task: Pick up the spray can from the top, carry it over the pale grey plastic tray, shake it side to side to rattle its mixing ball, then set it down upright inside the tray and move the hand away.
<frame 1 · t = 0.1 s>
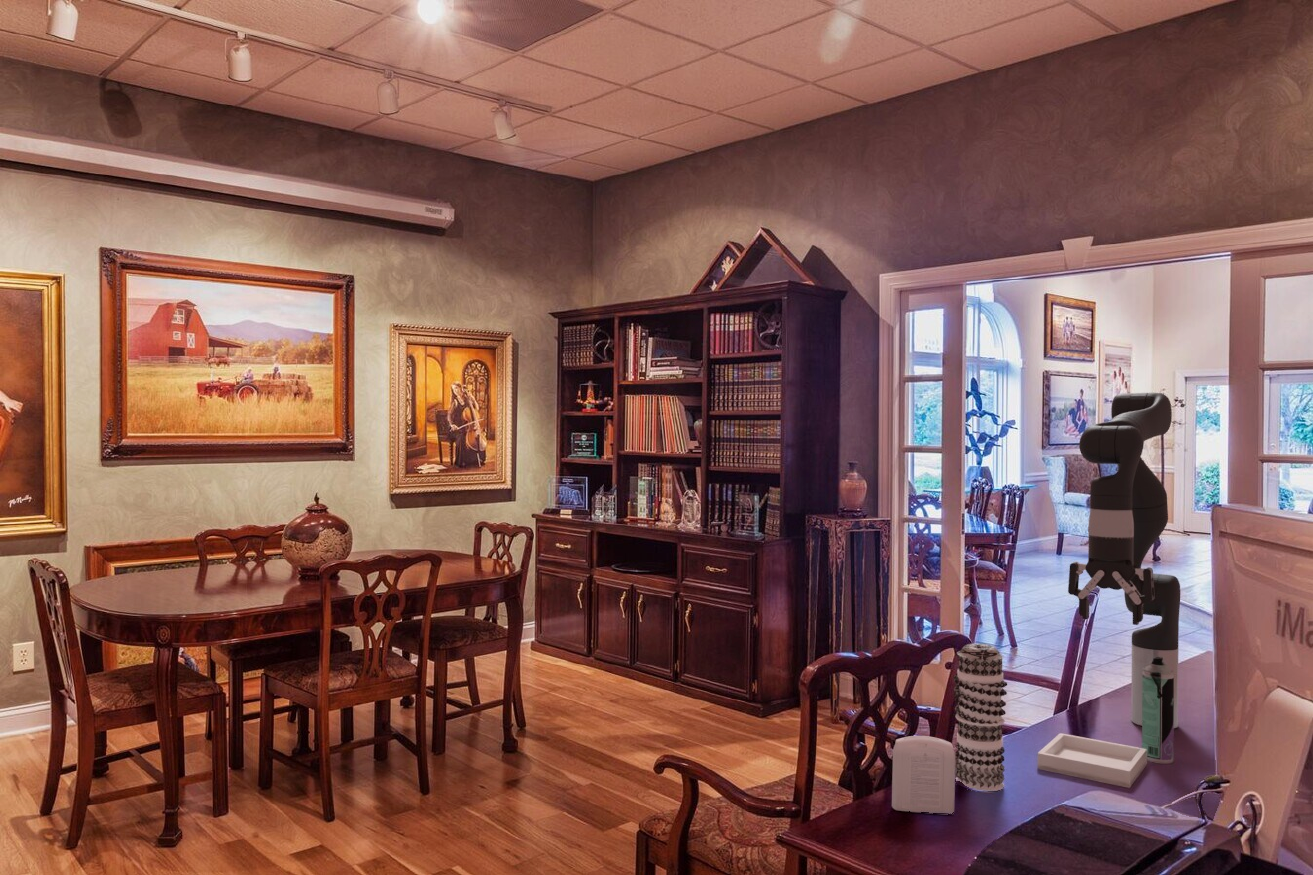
hand: (1110, 621, 175), 29 cm above the table, tool pointing down, fingers open, 8 cm apart
decorative candle: (979, 784, 172), on the table
spray can: (1157, 759, 187), on the table
tray: (1092, 766, 182), on the table
white rounded block: (923, 811, 160), on the table
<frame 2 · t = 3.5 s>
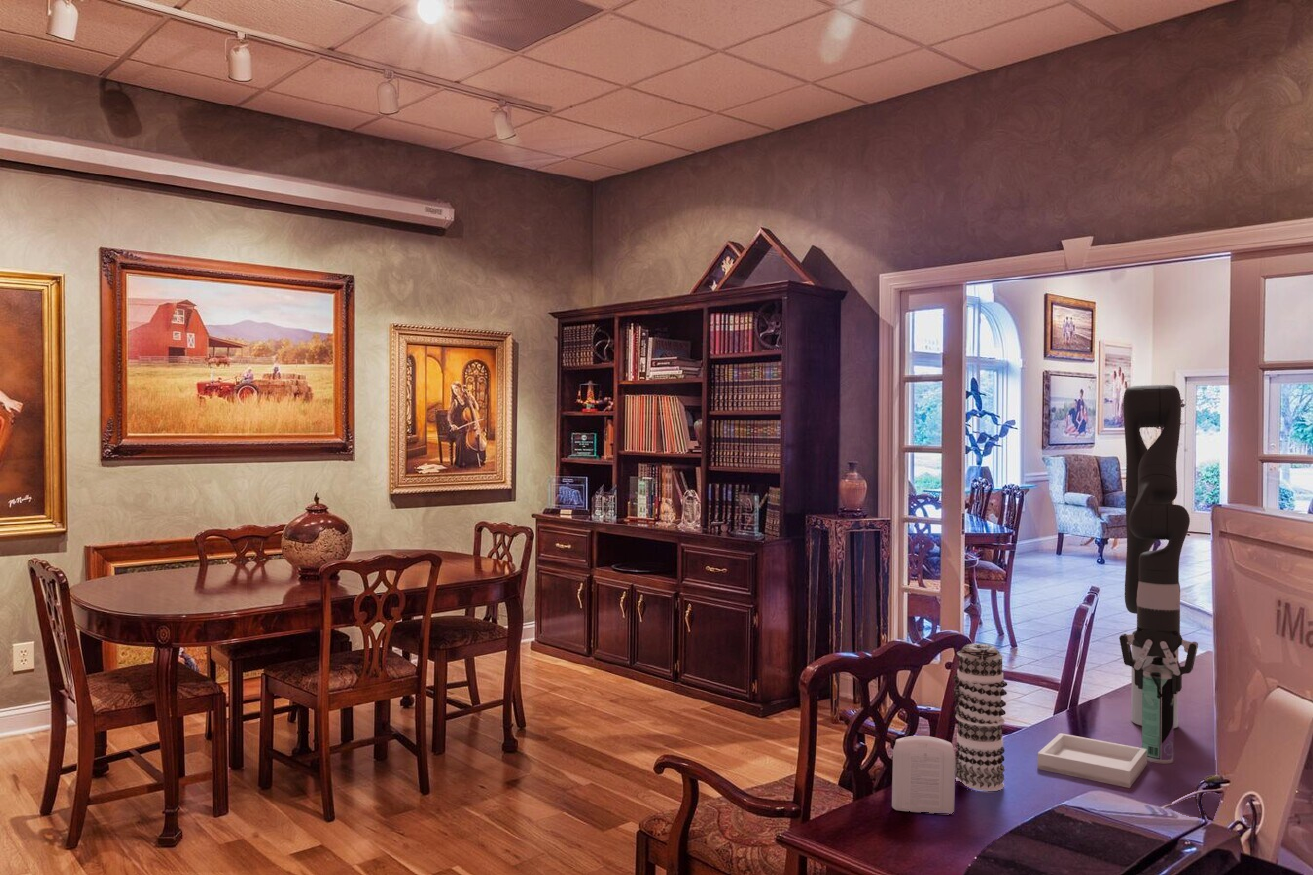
hand: (1157, 690, 187), 13 cm above the table, tool pointing down, fingers closed on spray can, 5 cm apart
spray can: (1157, 759, 187), on the table, touching gripper
everything else where it was.
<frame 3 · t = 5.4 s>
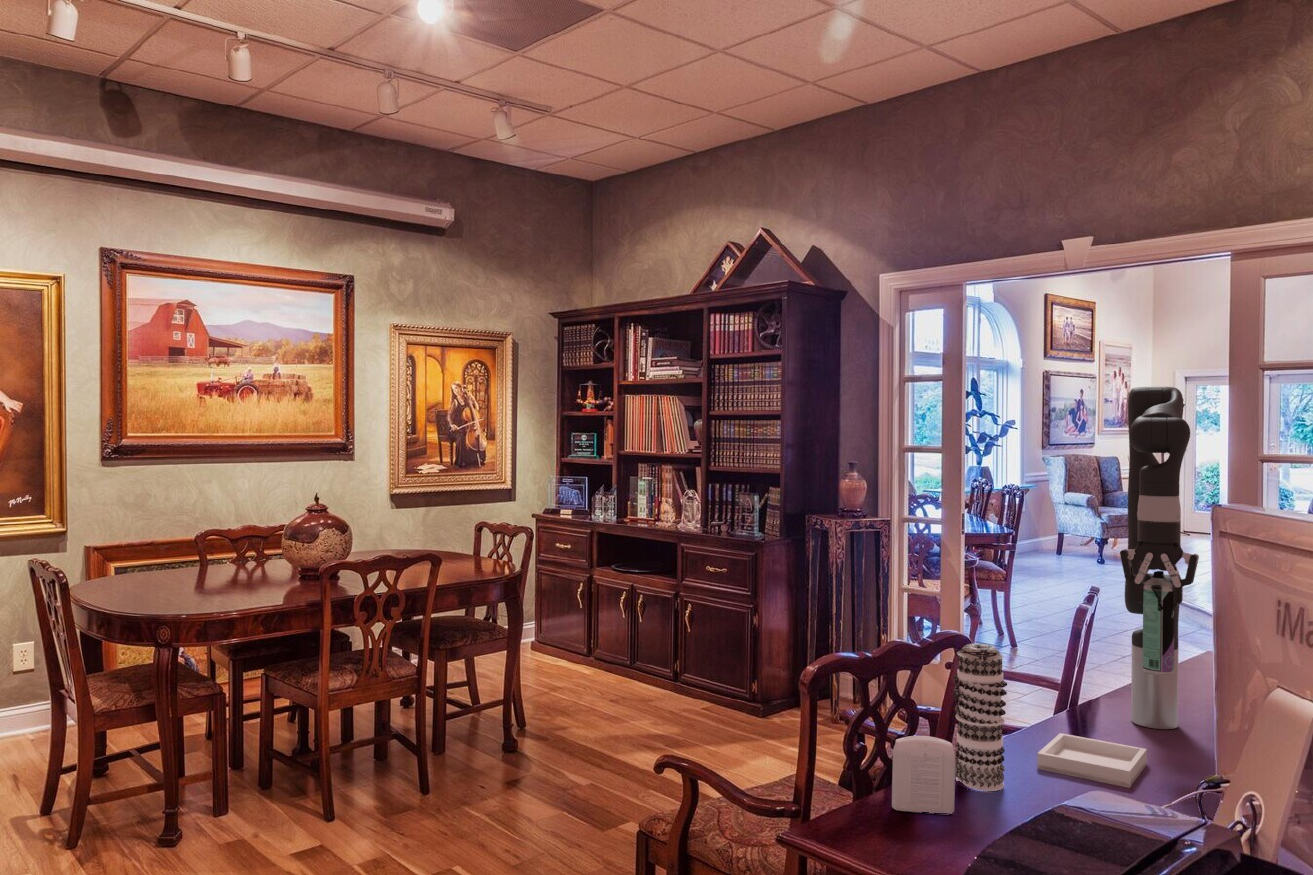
hand: (1158, 603, 187), 31 cm above the table, tool pointing down, fingers closed on spray can, 5 cm apart
spray can: (1158, 673, 187), point 17 cm above the table, touching gripper
everything else where it was.
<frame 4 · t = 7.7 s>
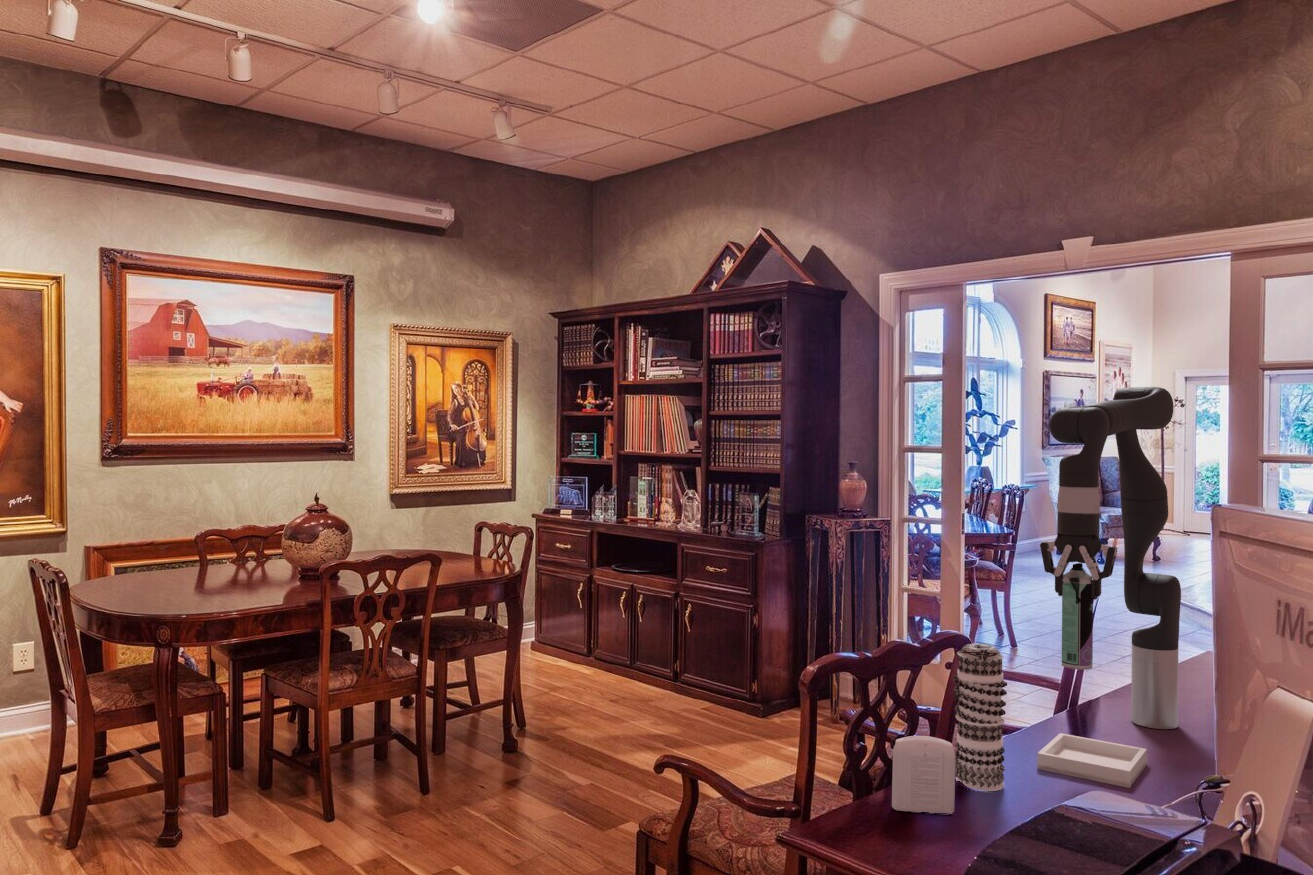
hand: (1077, 596, 184), 32 cm above the table, tool pointing down, fingers closed on spray can, 5 cm apart
spray can: (1076, 667, 184), point 19 cm above the table, touching gripper
everything else where it was.
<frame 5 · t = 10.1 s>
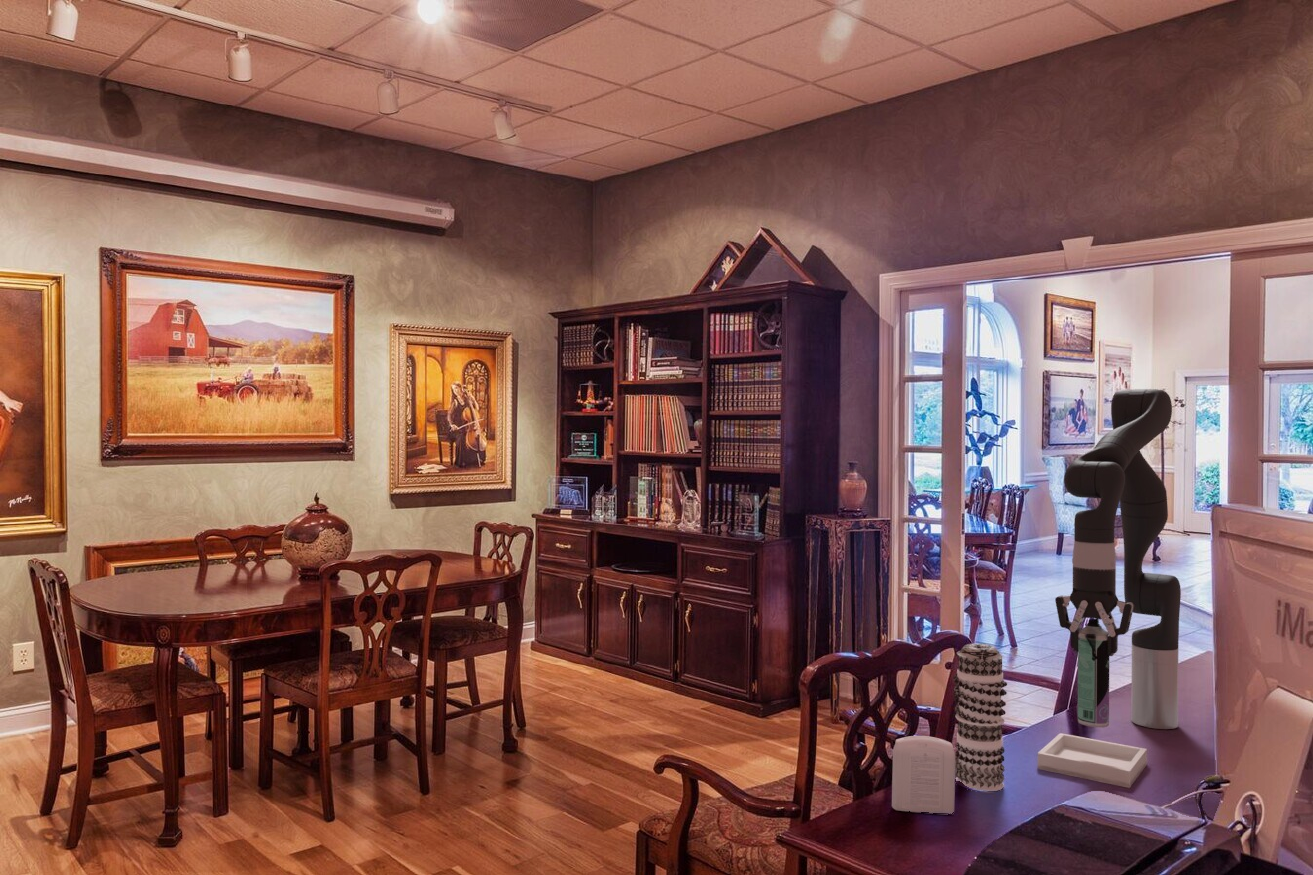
hand: (1093, 652, 182), 22 cm above the table, tool pointing down, fingers closed on spray can, 5 cm apart
spray can: (1093, 724, 182), point 8 cm above the table, touching gripper
everything else where it was.
when the fingers open (16 cm above the table, at t = 11.9 s): spray can drops 1 cm, resting on tray.
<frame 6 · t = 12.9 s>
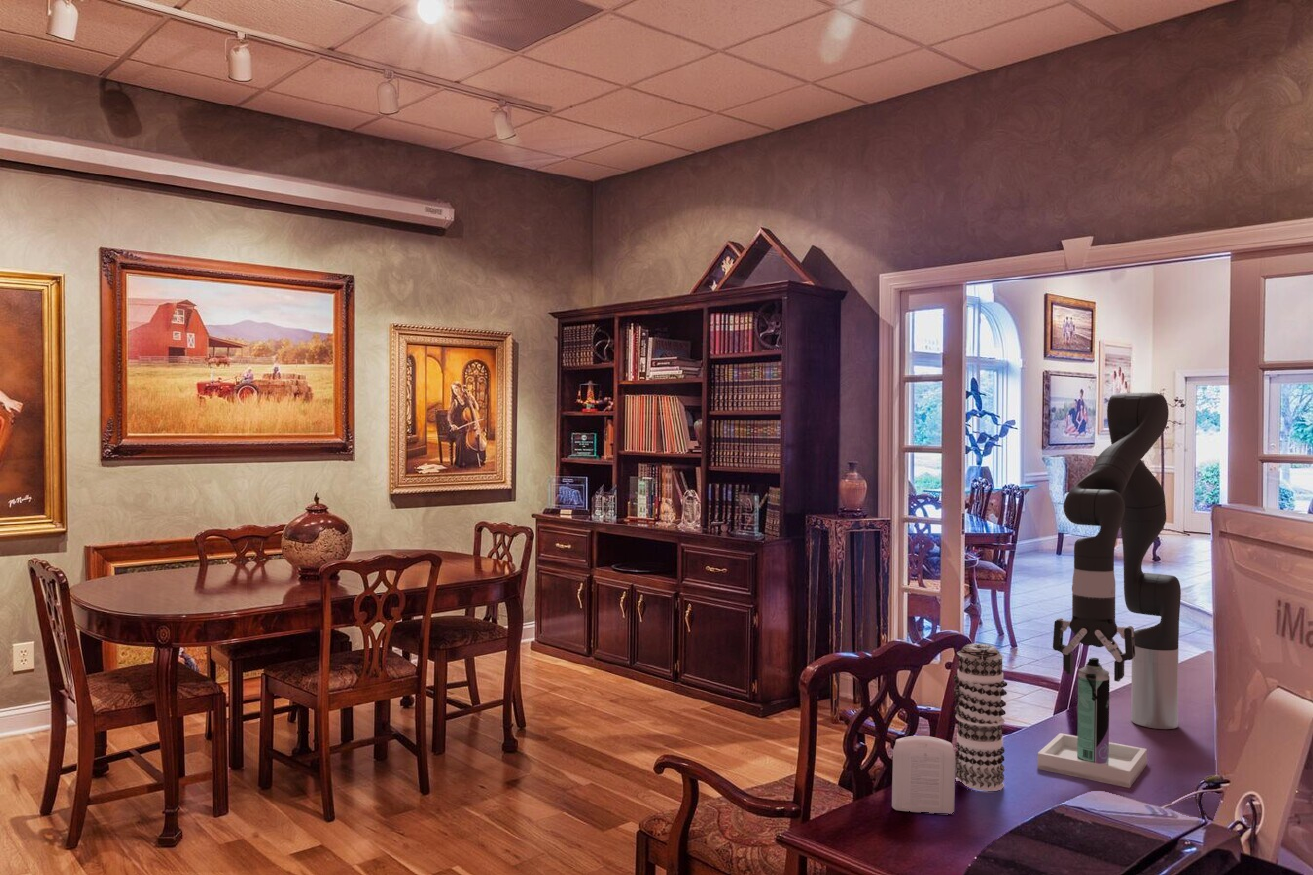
hand: (1093, 677, 182), 17 cm above the table, tool pointing down, fingers open, 8 cm apart
spray can: (1092, 763, 182), point 1 cm above the table, touching tray
everything else where it was.
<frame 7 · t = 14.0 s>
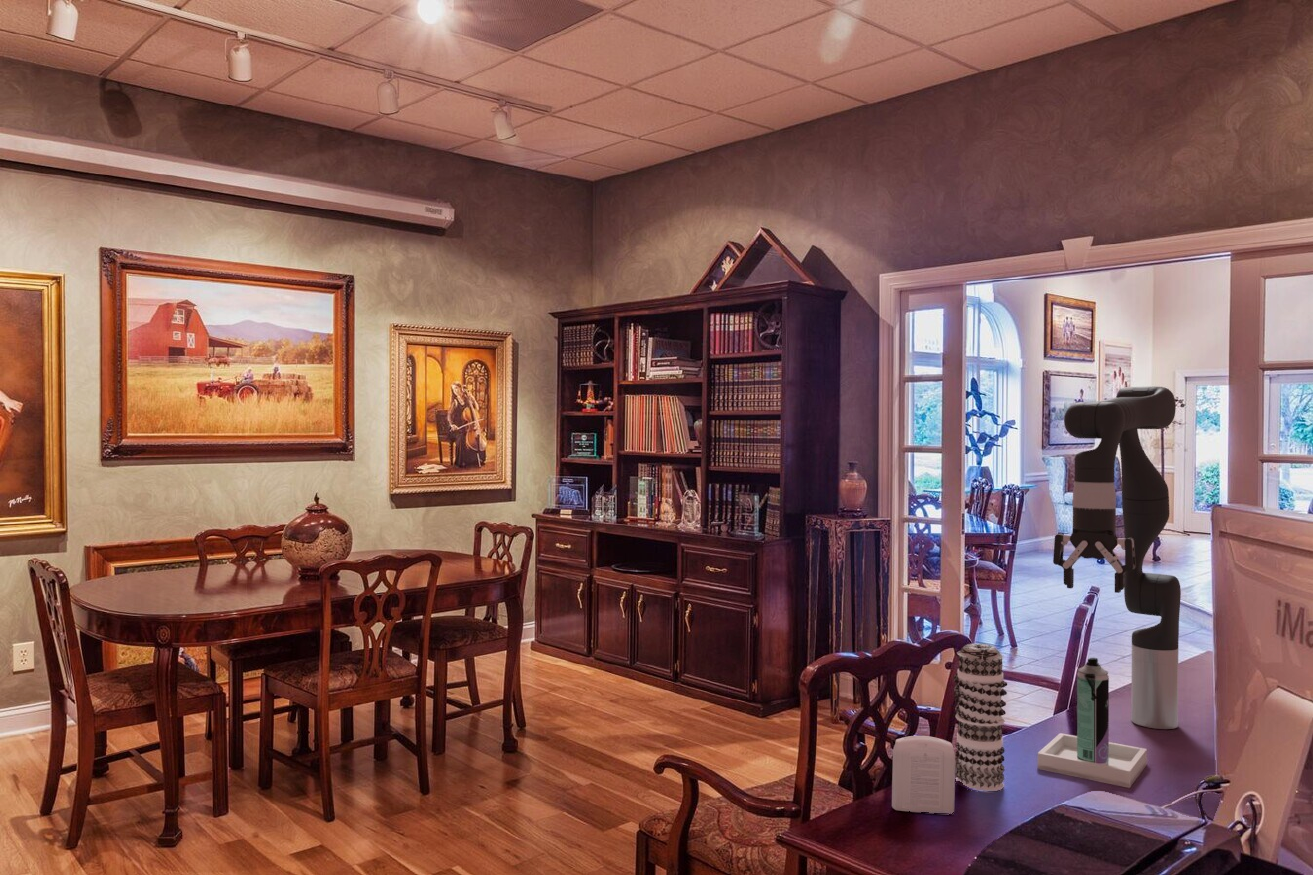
hand: (1093, 590, 182), 34 cm above the table, tool pointing down, fingers open, 8 cm apart
nothing on the table moved.
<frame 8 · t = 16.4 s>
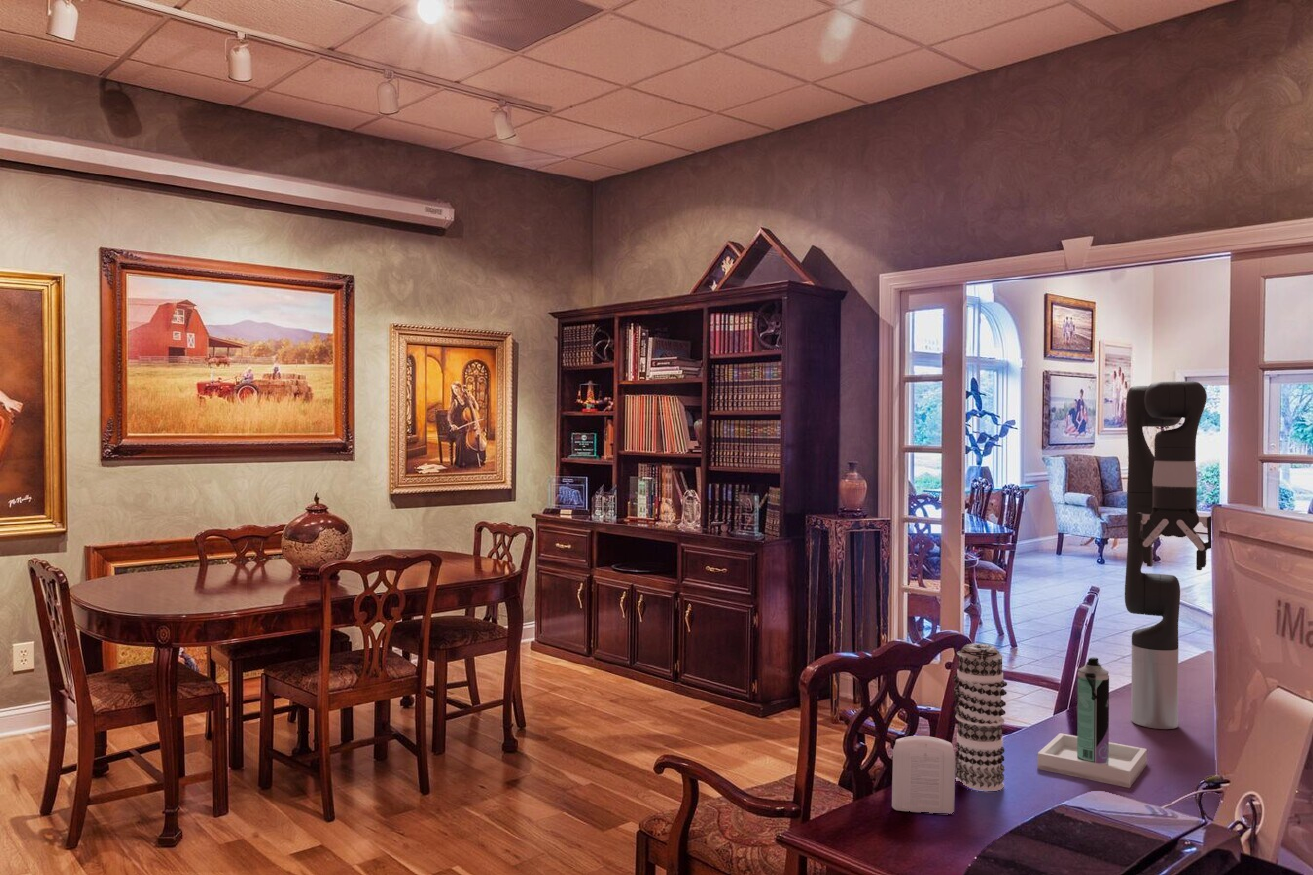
hand: (1174, 567, 184), 38 cm above the table, tool pointing down, fingers open, 8 cm apart
nothing on the table moved.
at the end: spray can inside the target area on the tray (0.1 cm from its centre), point 0.6 cm above the tray's base; spray can tilted 0°; the gripper is holding nothing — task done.
